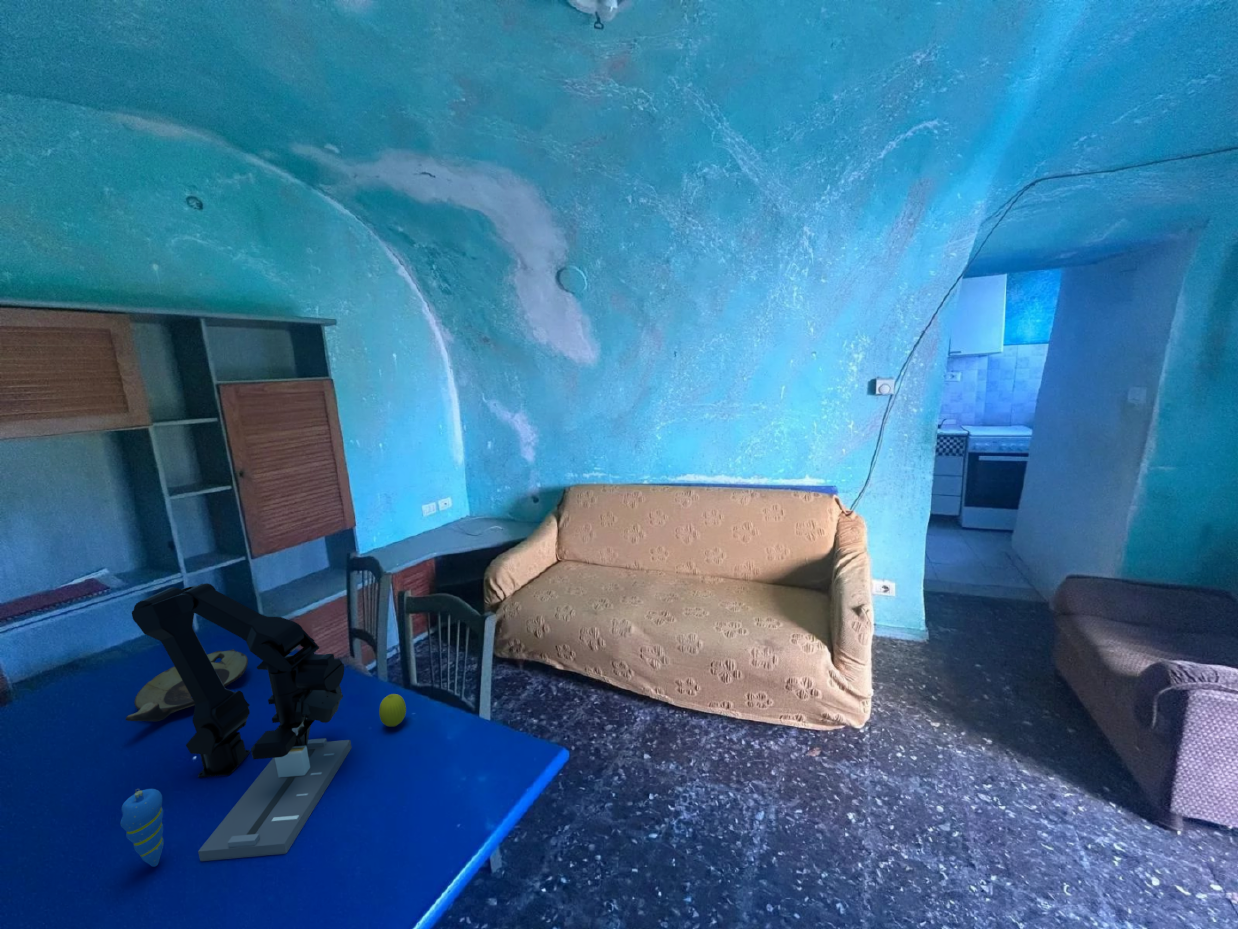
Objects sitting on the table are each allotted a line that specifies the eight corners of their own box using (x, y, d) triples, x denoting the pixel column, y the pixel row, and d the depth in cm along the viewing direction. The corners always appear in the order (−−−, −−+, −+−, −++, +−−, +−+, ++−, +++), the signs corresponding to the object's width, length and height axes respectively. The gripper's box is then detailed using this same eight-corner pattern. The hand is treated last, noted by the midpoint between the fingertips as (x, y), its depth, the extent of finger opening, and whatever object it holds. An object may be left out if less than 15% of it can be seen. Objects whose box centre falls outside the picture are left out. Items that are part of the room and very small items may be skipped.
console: (200, 861, 84) (196, 846, 84) (284, 753, 108) (282, 741, 107) (286, 853, 85) (283, 838, 84) (351, 748, 109) (349, 735, 108)
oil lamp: (274, 671, 139) (269, 646, 137) (148, 751, 110) (140, 720, 109) (214, 661, 145) (208, 637, 143) (80, 735, 116) (72, 706, 115)
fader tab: (278, 777, 99) (274, 754, 98) (284, 769, 101) (280, 746, 100) (304, 775, 99) (300, 752, 98) (310, 767, 101) (306, 744, 100)
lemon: (398, 736, 112) (393, 704, 110) (376, 733, 113) (371, 701, 111) (413, 718, 117) (408, 688, 115) (392, 716, 118) (387, 686, 116)
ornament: (153, 852, 86) (133, 777, 83) (185, 849, 87) (166, 774, 84) (127, 882, 81) (104, 804, 78) (160, 879, 82) (139, 800, 79)
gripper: (306, 714, 91) (319, 788, 94) (352, 656, 109) (362, 719, 112) (241, 720, 90) (257, 794, 93) (299, 660, 108) (311, 723, 111)
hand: (302, 754), depth 103 cm, fingers closed
